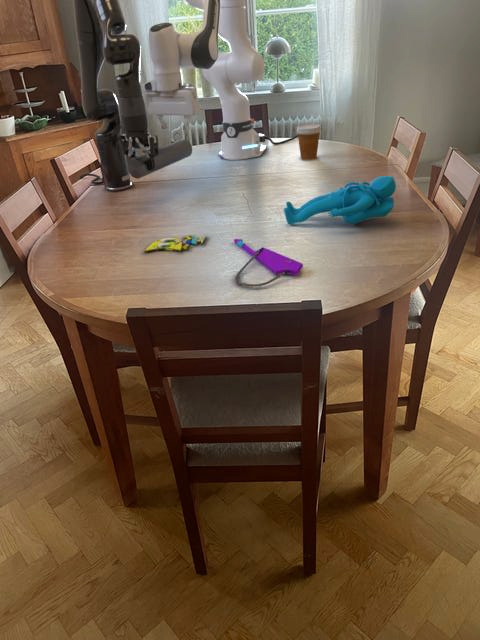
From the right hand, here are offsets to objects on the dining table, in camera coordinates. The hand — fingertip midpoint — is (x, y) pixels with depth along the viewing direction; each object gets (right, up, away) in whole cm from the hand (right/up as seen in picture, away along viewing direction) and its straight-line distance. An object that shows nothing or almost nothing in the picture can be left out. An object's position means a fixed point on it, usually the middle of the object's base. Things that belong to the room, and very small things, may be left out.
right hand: (175, 129), depth 160 cm
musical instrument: (+25, -51, -44) cm, 71 cm away
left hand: (-9, -16, -8) cm, 20 cm away
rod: (-4, -13, -1) cm, 14 cm away
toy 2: (+49, -36, -24) cm, 66 cm away
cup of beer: (+49, +2, +33) cm, 60 cm away
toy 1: (+4, -43, -29) cm, 52 cm away
